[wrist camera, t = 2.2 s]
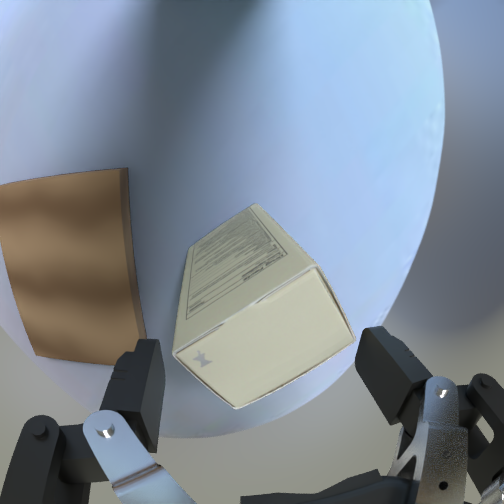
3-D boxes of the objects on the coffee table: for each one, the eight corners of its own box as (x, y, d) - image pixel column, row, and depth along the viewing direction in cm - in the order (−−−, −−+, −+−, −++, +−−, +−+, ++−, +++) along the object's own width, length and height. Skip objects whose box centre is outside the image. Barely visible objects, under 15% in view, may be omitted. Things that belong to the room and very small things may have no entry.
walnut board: (6, 183, 17) (-7, 187, 15) (127, 167, 18) (119, 169, 16) (43, 343, 22) (35, 355, 20) (149, 353, 24) (146, 367, 22)
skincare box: (219, 290, 22) (229, 416, 11) (186, 247, 21) (161, 358, 10) (289, 245, 22) (362, 344, 11) (259, 198, 20) (318, 263, 9)
